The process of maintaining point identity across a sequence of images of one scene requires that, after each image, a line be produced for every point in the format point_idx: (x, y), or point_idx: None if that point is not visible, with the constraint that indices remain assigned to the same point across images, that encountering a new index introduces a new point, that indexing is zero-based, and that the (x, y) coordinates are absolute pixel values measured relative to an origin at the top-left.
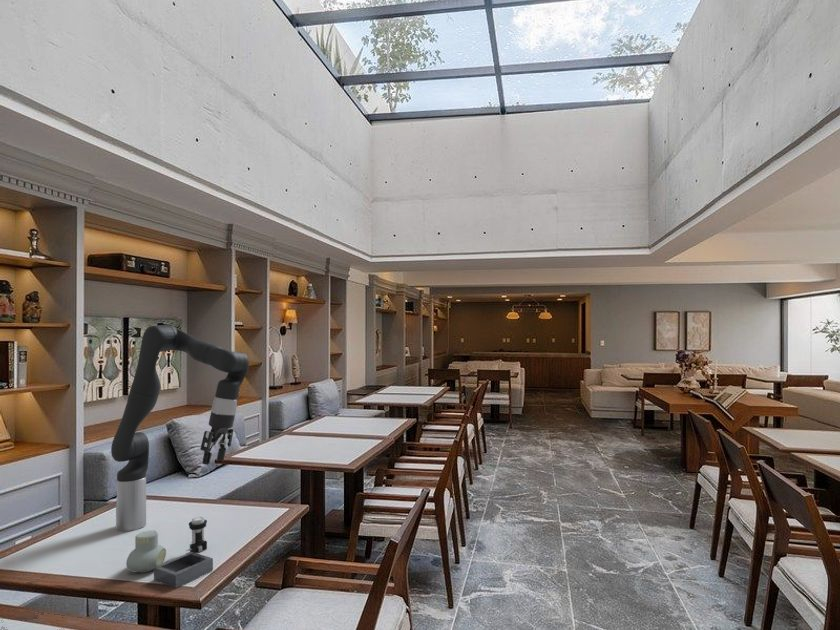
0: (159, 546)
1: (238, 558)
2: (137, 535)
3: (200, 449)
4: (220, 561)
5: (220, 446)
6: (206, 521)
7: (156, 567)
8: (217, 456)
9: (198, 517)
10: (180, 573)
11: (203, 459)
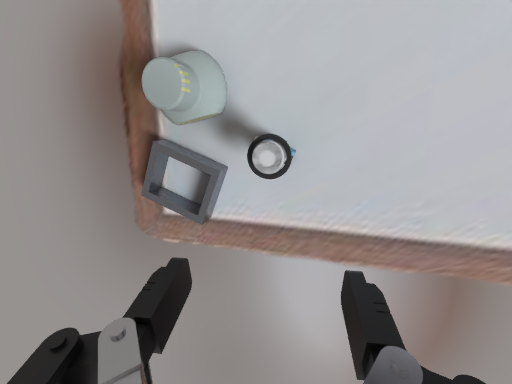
0: (195, 109)
1: (257, 239)
2: (148, 66)
3: (56, 332)
4: (243, 214)
5: (372, 372)
6: (276, 177)
7: (154, 145)
8: (351, 283)
9: (279, 153)
10: (148, 198)
11: (150, 282)
